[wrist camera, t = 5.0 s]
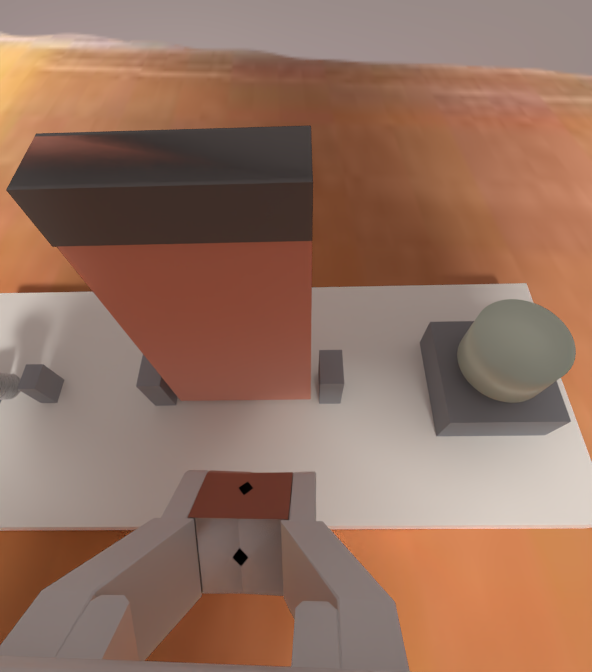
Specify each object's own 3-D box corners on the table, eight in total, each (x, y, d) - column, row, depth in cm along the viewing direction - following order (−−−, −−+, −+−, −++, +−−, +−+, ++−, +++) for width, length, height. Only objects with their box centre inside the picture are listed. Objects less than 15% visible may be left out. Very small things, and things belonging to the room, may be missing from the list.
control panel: (584, 528, 17) (661, 519, 14) (-78, 531, 18) (-181, 523, 14) (510, 304, 23) (549, 253, 20) (14, 312, 24) (-42, 265, 20)
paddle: (310, 401, 18) (312, 181, 8) (180, 402, 18) (6, 189, 8) (309, 365, 19) (310, 125, 8) (185, 367, 19) (36, 133, 9)
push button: (559, 402, 16) (590, 382, 14) (467, 403, 16) (487, 383, 14) (531, 324, 17) (556, 298, 16) (449, 325, 17) (465, 299, 16)
